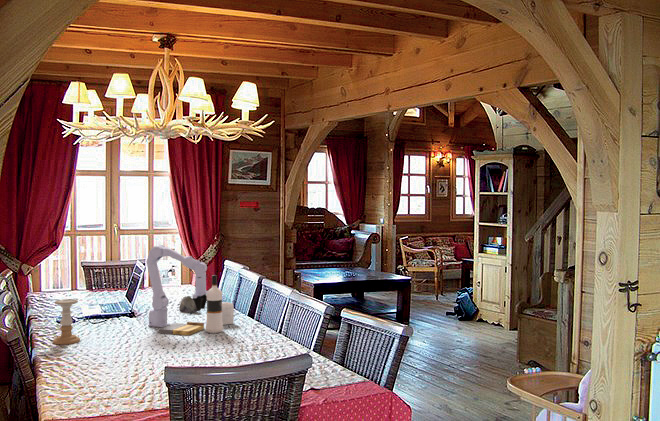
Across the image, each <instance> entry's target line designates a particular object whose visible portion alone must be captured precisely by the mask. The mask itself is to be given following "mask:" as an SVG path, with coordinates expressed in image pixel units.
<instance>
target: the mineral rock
mask: <svg viewBox="0 0 660 421" xmlns="http://www.w3.org/2000/svg"><path fill="white" fill-rule="evenodd" d="M178 311H179V312H183V313H197V312H201V310H197V309H196V305H195V302H194V300H193V297H191V296H190V295H187V296H184V297H183V298H182V299H181V301H180V304H179V310H178Z"/></svg>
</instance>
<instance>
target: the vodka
mask: <svg viewBox="0 0 660 421" xmlns="http://www.w3.org/2000/svg"><path fill="white" fill-rule="evenodd" d="M211 277H212V278H211V288H209V289H208V290H206V291H207V293H206V295H207V298H206V299H207V301H206V323H205V332H206V333H208V334H220V333H222V332H223V331H224V325H223V323H222V303H223V290H222V289H220V288H219V287H218V275H216V274H214V275H213V274H212V275H211Z"/></svg>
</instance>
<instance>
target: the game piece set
mask: <svg viewBox="0 0 660 421" xmlns="http://www.w3.org/2000/svg"><path fill="white" fill-rule="evenodd" d="M267 348H268V347H267V346H265V347H263V346H262V347H261V350H260V354H259V355H258V356H259V358H264V357H265V355H264V354H263V352H264V353H265V354H267V353H268V352H267V350H266V349H267ZM241 349H244V344H241V345H240V350H241ZM255 349H257V346H256V344H253V345H252V350H255ZM224 351H225V354H226V355H227V356H228V358H231V357H232V356H231V355H229V352H228V351H230V352H234V349H233V348H231V349H229V348H228V347H225V350H224ZM251 354H252V355H251V357H250V359H251V360H254V358H255V357H254V351H252V353H251ZM236 356H237V359H238V360H241V357H242V354H241V352H237V354H236Z"/></svg>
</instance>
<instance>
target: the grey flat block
mask: <svg viewBox="0 0 660 421" xmlns="http://www.w3.org/2000/svg"><path fill="white" fill-rule="evenodd" d="M184 325H187V323H180V322H174V323H170V325H167V326H165V327H159V329H158V333H159V334H166V335H168V334H169V335H174V334H173V330H174V329H177V328H179V327H182V326H184Z"/></svg>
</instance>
